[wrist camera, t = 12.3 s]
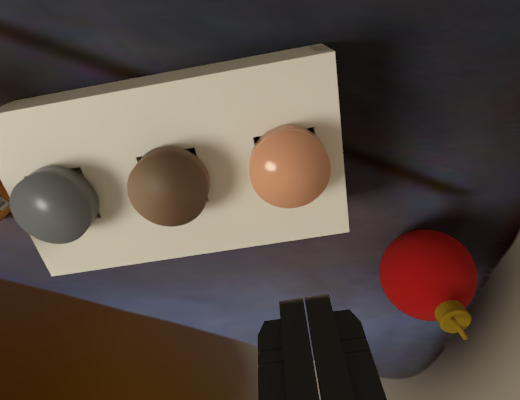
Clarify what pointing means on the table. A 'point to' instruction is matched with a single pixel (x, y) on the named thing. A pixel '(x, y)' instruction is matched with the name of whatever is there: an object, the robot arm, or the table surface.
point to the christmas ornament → (430, 278)
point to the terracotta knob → (289, 167)
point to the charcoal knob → (54, 204)
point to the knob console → (184, 136)
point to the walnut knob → (169, 186)
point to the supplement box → (4, 202)
